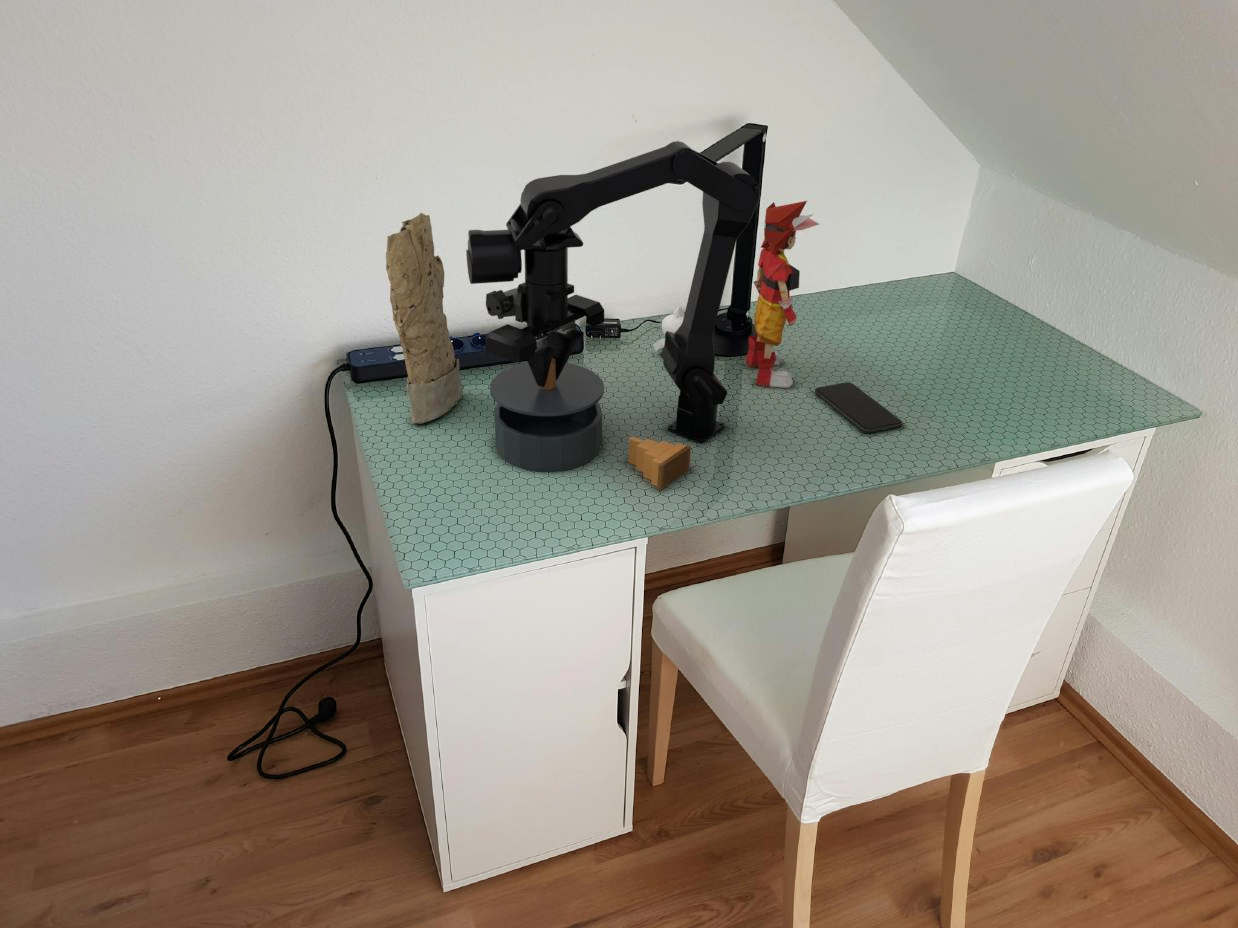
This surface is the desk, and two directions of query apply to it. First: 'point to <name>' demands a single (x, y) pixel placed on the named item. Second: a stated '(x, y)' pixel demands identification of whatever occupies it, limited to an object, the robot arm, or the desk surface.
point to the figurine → (670, 326)
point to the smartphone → (858, 407)
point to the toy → (775, 291)
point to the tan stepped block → (659, 460)
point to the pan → (548, 439)
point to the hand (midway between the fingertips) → (547, 382)
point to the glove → (422, 320)
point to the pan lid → (547, 390)
